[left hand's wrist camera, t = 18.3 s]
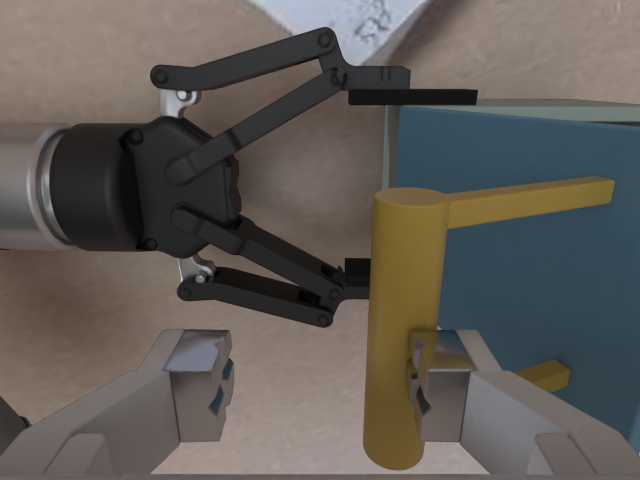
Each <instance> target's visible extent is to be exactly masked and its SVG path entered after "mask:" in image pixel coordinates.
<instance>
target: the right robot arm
mask: <svg viewBox="0 0 640 480" xmlns="http://www.w3.org/2000/svg"><path fill="white" fill-rule="evenodd" d="M315 59H319V62H320V65H321V68H322V71H323V73H322V74H320V75H318V76H317V77H315V78H313V79H312V80H310V81H308V82H307V83H305V84H303V85H302V86H300V87H298V88H297V89H295V90H293V91H292V92H290V93H288V94H287V95H285V96H283V97H282V98H280V99H278V100H277V101H275V102H273V103H272V104H270V105H268V106H267V107H265V108H263V109H262V110H260V111H258V112H257V113H255V114H253V115H252V116H250V117H248V118H247V119H245V120H243V121H242V122H240V123H238V124H237V125H235V126H233V127H232V128H230V129H228V130H226V131H225V132H223V133H221V134H220V135H218V136H216V137H215V138H213V137H211V136H210V135H209V134H207V133H206V132H204V131H203V130H202V129H200V128H199V127H197V126H196V125H194V124H193V123H192V122H190V121H189V120H187V119H186V118H184V117H183V113H184V110H185V109H186V108H187V107H188V106H191V105H195V104H197V103H198V102H199V101H200V100H201V95H202V91H204V90H214V89H218V88H222V87H225V86H229V85H232V84H235V83H239V82H242V81H245V80H249V79H252V78H255V77H259V76H262V75H265V74H268V73H272V72H275V71H278V70H282V69H285V68H288V67H292V66H295V65H298V64H302V63H305V62H308V61H312V60H315ZM410 72H411V70H409V69H407V68H404V67H402V66H352V65H350V64H348V63H347V62H346V61H345V60H344V58H343V56H342V54H341V50H340V47H339V44H338V41H337V38H336V35H335V32H334V31H333V30H332V29H330V28H327V27H322V28H319V29H315V30H312V31H309V32H306V33H302V34H299V35H296V36H293V37H290V38H286V39H283V40H280V41H277V42H273V43H270V44H267V45H264V46H261V47H257V48H254V49H251V50H248V51H244V52H241V53H238V54H235V55H232V56H228V57H225V58H222V59H219V60H216V61H212V62H209V63H206V64H203V65H199V66H196V67H183V66H171V65H156V66H155V67H153V69H152V70H151V73H150V78H151V81H152V83H153V84H154V85H155V86H156V87H157V88H159V99H160V117H158V118H156V119H155V120H153V121H152V122H150V123H145V124H103V123H83V124H77V125H75V126H71V125H68V124H65V123H0V250H42V251H76V250H78V249H80V248H81V249H83V250H86V251H122V252H143V251H160V252H164V253H166V254H169V255H171V256H173V257H175V258H177V259H178V264H179V269H180V274H181V279H182V283H181V284H180V285H179V287H178V288H177V294H178V297H179V298H180V299H182V300H184V301H200V300H218V301H221V302H225V303H229V304H233V305H237V306H241V307H245V308H248V309H252V310H256V311H260V312H264V313H268V314H271V315H275V316H279V317H283V318H287V319H291V320H295V321H298V322H302V323H306V324H310V325H314V326H318V327H322V328H325V327H329V326H330V325H331V324H332V322H333V316H334V314H335V312H336V309H337V307H338V305H339V304H340V303H341V302H342V301H344V300H346V299H369V293H370V270H371V258H345V272H343V269H342V268H341V267H340V266H338V269H336V268H335V267H333V266H331V265H329V264H327V263H325V262H323V261H321V260H320V259H318V258H316V257H314V256H312V255H310V254H308V253H306V252H304V251H303V250H301V249H299V248H297V247H295V246H293V245H291V244H289V243H288V242H286V241H284V240H282V239H280V238H278V237H276V236H274V235H272V234H271V233H269V232H267V231H265V230H263V229H261V228H259V227H257V226H256V225H255V224H254V222H253V221H251V220H250V219H248V218H246V217H244V216H243V215H241V214H239V213H240V211H241V210H242V209H241V197H240V194H239V191H238V188H237V181H238V176H239V162H238V160H236V159H235V157H234V155H233V154H234V153H235V152H237V151H239V150H240V149H242V148H243V147H245V146H247V145H248V144H250V143H252V142H254V141H255V140H257V139H259V138H260V137H262V136H264V135H266V134H267V133H269V132H271V131H272V130H274V129H276V128H278V127H279V126H281V125H283V124H284V123H286V122H288V121H289V120H291V119H293V118H295V117H296V116H298V115H300V114H301V113H303V112H305V111H307V110H308V109H310V108H312V107H313V106H315V105H317V104H318V103H320V102H322V101H324V100H325V99H327V98H329V97H330V96H332V95H334V94H336V93H337V92H339V91H349V97H348V103H349V104H350V105H476V102H477V93H478V90H470V89H409V87H410ZM209 244H212V245H214V246H216V247H218V248H220V249H222V250H224V251H226V252H227V253H229V254H232V255H241V256H243V257H245V258H247V259H249V260H251V261H253V262H255V263H257V264H259V265H261V266H262V267H264V268H266V269H268V270H270V271H272V272H274V273H276V274H278V275H280V276H282V277H284V278H286V279H288V280H290V281H292V282H293V283H295V284H297V285H299V286H297V285H293V284H289V283H285V282H282V281H278V280H274V279H270V278H267V277H263V276H259V275H255V274H251V273H248V272H244V271H240V270H236V269H232V268H227V267H216V265H215V264H214V262H213V261H211V260H209V261H208V260H204V259H202V258H201V257H199V255H198V252H199V251H200V250H202V249H203V248H205V247H206V246H207V245H209ZM300 286H301V287H300ZM30 426H32V425H31V424H30V422H29V420H28V419H27V418H26V417H22V416H19V415H18V414H17V413H16V412H15V411H14V410H13V409H12V408H11V407H10V406H9V405H8V404H7V403H6V402H5V401H4V400H3V399H2V398H1V396H0V456H1V455H2V454H3V452H4V451H5V450H6V449H7V448H8V447H9V445H10V444H11V443H12V442H13V441H14V440H15V438H16V437H17V436H18V435H19V434H20V432H21V431H23V430H25V429H26V428H28V427H30Z"/></svg>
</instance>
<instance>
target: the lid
mask: <svg viewBox="0 0 640 480" xmlns="http://www.w3.org/2000/svg"><path fill="white" fill-rule="evenodd" d="M437 326H439V327H440V328H441V329H443V330H457V329H475V330H477V331H478V332H479V334H480V336H481V337H482V339H483V340H484V342H485V343H486V345H487V347H488V348H489V350H490V351H491V353H492V354H493V356H494V357H495V359H496V361H497V362H498V364H499V365H500V367H501V368H502V370H503V371H511V372H513V373H515V374H516V375H518V376H520V377H522V378H524V379H525V380H527V381H529V382H531V383H532V384H534V385H536V386H538V387H540V388H541V389H543V390H545V391H547V392H549V393H550V394H552V395H554V396H556V397H558V398H559V399H561V400H563V401H565V402H566V403H568V404H570V405H572V406H574V407H575V408H577V409H579V410H581V411H583V412H584V413H586V414H588V415H590V416H592V417H593V418H595V419H597V420H599V421H600V422H602V423H604V424H606V425H608V426H609V427H611V428H613V429H615V430H617V431H618V432H620V434H621V435H622V436H623V437H624V438H625V439H626V441H627V442H628V443H629V444H630V445H631V447H632V448H633V449H634V450H635V451H636V453H637V454H638V455H639V452H640V127H638V126H626V125H615V124H604V123H593V122H581V121H570V120H559V119H548V118H537V117H525V116H514V115H503V114H492V113H481V112H469V111H458V110H447V109H436V108H424V107H413V106H411V107H400V112H399V129H398V145H397V162H396V178H395V188H389V189H384V190H380V191H378V192H376V193H375V194H374V201H373V224H372V247H371V270H370V293H369V316H368V339H367V362H366V385H365V408H364V431H363V446H364V450H365V452H366V454H367V455H368V457H369V458H370V459H371V460H372V461H373V462H374V463H376V464H377V465H379V466H381V467H383V468H386V469H390V470H405V469H409V468H411V467H413V466H415V465H416V464H417V463H418V462H419V461H420V460H421V458H422V456H423V453H424V444H425V441H420V439H419V435H418V432H417V428H416V425H415V421H414V407H413V406H412V405H411V404H410V403H409V399H408V395H407V389H406V363H407V361H408V360H409V359H410V358H411V355H410V352H409V349H408V338H409V333H410V331H421V330H437Z"/></svg>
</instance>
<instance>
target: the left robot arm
mask: <svg viewBox="0 0 640 480" xmlns="http://www.w3.org/2000/svg"><path fill="white" fill-rule="evenodd" d="M231 348H232V341H231V334H230V331H229V330H197V329H187V330H186V329H166V330H163V331H162V332H161V333H160V335H159V336H158V338H157V340H156V341H155V343H154V344H153V346H152V348H151V349H150V351H149V352H148V354H147V355H146V357H145V359H144V360H143V362H142V363H141V365H140V367H139V368H138V370H137V371H129V372H127V373H125V374H123V375H122V376H120V377H118V378H116V379H114V380H113V381H111V382H109V383H107V384H105V385H104V386H102V387H100V388H98V389H97V390H95V391H93V392H91V393H89V394H88V395H86V396H84V397H82V398H80V399H79V400H77V401H75V402H73V403H71V404H70V405H68V406H66V407H64V408H62V409H61V410H59V411H57V412H55V413H53V414H52V415H50V416H48V417H46V418H44V419H43V420H41V421H39V422H37V423H35V424H34V425H32V426H30V427H28V428H26V429H25V430H23V431H21V432H20V434H19V435H18V436H17V437H16V438H15V440H14V441H13V442H12V443H11V444H10V445H9V447H8V448H7V449H6V450H5V451H4V452H3V454H2V455H1V456H0V480H640V456H639V455H638V454H637V453H636V451H635V450H634V449H633V448H632V447H631V445H630V444H629V443H628V442H627V441H626V439H625V438H624V437H623V436H622V435H621V434H620V432H618V431H617V430H615V429H613V428H611V427H609V426H608V425H606V424H604V423H602V422H600V421H599V420H597V419H595V418H593V417H592V416H590V415H588V414H586V413H584V412H583V411H581V410H579V409H577V408H575V407H574V406H572V405H570V404H568V403H566V402H565V401H563V400H561V399H559V398H558V397H556V396H554V395H552V394H550V393H549V392H547V391H545V390H543V389H541V388H540V387H538V386H536V385H534V384H532V383H531V382H529V381H527V380H525V379H524V378H522V377H520V376H518V375H516V374H515V373H513V372H511V371H503V370H502V368H501V367H500V365H499V364H498V362H497V361H496V359H495V357H494V356H493V354H492V353H491V351H490V350H489V348H488V347H487V345H486V343H485V342H484V340H483V339H482V337H481V336H480V334H479V332H478V331H477V330H475V329H457V330H421V331H410V333H409V338H408V349H409V352H410V355H411V358H410V359H409V360H408V361H407V363H406V389H407V395H408V399H409V403H410V404H411V405H412V406H413V407H414V421H415V425H416V428H417V432H418V435H419V439H420V441H429V442H460V445H461V446H462V447H463V448H464V449H465V450H466V451H467V452H468V453H469V454H470V455H471V456H472V457H474V458H475V459H476V460H477V461H478V462H479V463H480V464H481V465H482V466H483V467H484V468H485V469H486V470H487V471H488V472H489V473H490V474H150V473H151V472H152V471H153V470H154V469H155V468H156V467H157V466H158V465H159V464H160V463H161V462H162V461H163V460H165V459H166V458H167V457H168V456H169V455H170V454H171V453H172V452H173V451H174V450H175V449H176V448H177V447H178V446H179V445H180V442H210V441H220V438H221V435H222V431H223V428H224V424H225V421H226V410H225V407H227V406H228V405H229V404H230V402H231V398H232V395H233V386H234V363H233V362H232V360H231V359H230V358H229V355H230V352H231Z"/></svg>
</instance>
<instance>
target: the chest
mask: <svg viewBox="0 0 640 480" xmlns="http://www.w3.org/2000/svg"><path fill="white" fill-rule="evenodd" d="M411 106H413V107H424V108H436V109H447V110H458V111H469V112H481V113H492V114H503V115H514V116H525V117H537V118H548V119H559V120H570V121H581V122H593V123H604V124H615V125H626V126H638V127H640V104H627V103H615V102H603V101H590V100H578V99H477V102H476V105H386V107H385V128H384V148H383V168H382V188H381V190H384V189H389V188H395V178H396V162H397V145H398V129H399V112H400V107H411Z"/></svg>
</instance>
